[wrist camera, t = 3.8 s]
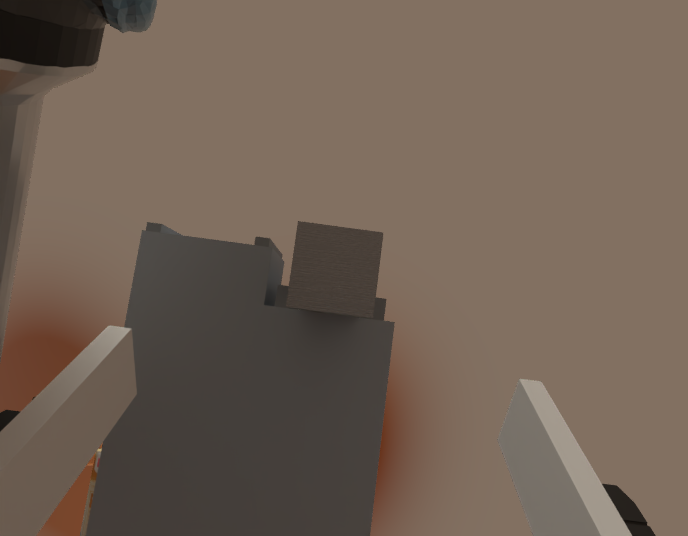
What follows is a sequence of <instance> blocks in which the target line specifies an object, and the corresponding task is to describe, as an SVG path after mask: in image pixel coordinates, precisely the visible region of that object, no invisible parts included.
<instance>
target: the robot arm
mask: <svg viewBox="0 0 688 536" xmlns="http://www.w3.org/2000/svg"><path fill="white" fill-rule="evenodd" d="M156 5H157V0H0V360H1V354H2V348H3V342H4V335H5V330H6V324H7V318H8V312H9V306H10V299H11V293H12V287H13V281H14V275H15V268H16V263H17V257H18V251H19V245H20V238H21V232H22V226H23V220H24V214H25V208H26V202H27V196H28V190H29V184H30V178H31V172H32V165H33V159H34V153H35V147H36V140H37V135H38V129H39V123H40V117H41V110H42V104H43V98H44V96H45V95H46V94H47V93H48V92H49V91H50V90H52V89H53V88H56V87H58V86H60V85H63V84H65V83H67V82H70V81H72V80H74V79H76V78H79V77H81V76H84V75H86V74H88V73H91V72H93V71H94V69H95V68H96V66H97V62H98V57H99V52H100V47H101V42H102V37H103V32H104V28H105V25H106V23H107V24H110V26H112V27H114V28H116V29H118V30H119V31H120V32H122V33H124V32H127V31H133V32H142V31H146V30H147V29H148V28H149V26H150V25H151V23H152V20H153V17H154V13H155V9H156ZM136 395H137V388H136V376H135V363H134V351H133V338H132V328H124V327H116V326H108V327H107V328H106V329H105V330H104V331H103V332H102V333H101V334H100V335H99V336H98V337H97V338H96V339H95V340H94V341H92V342H91V344H89V345H88V346H87V348H85V349H84V350H83V351H82V352H81V353H80V354H79V355H78V356H77V357H76V358H75V359H74V360H73V361H72V362H71V363H70V364H69V365H68V366H67V367H66V368H65V369H64V370H63V371H62V372H61V373H60V374H59V375H58V376H57V377H56V378H55V379H54V380H53V381H52V382H51V383H50V384H49V385H48V386H47V387H46V388H45V389H43V390H42V391H41V392H40V393H39V394H38V395H37V396H36V397H35V398H34V399H33V400H32V401H31V402H30V403H29V404H28V405H27V406H26V407H25V408H24V409H23V410H22V411H21V412H19V411H11V410H5V411H3V412H1V413H0V536H36V535H37V533H38V532H39V531H40V529H41V528H42V527H43V525H44V524H45V522H46V521H47V520H48V518H49V517H50V515H51V514H52V513H53V511H54V510H55V508H56V507H57V506H58V504H59V503H60V501H61V500H62V499H63V497H64V495H65V494H66V493H67V492H68V490H69V489H70V487H71V486H72V484H73V483H74V482H75V480H76V479H77V477H78V476H79V474H80V473H81V472H82V470H83V469H84V468H85V466H86V465H87V463H88V462H89V461H90V459H91V458H92V456H93V455H94V454H95V452H96V451H97V449H98V448H99V447H100V445H101V444H102V442H103V441H104V440H105V438H106V437H107V435H108V434H109V432H110V431H111V430H112V428H113V427H114V425H115V424H116V423H117V421H118V420H119V418H120V417H121V416H122V414H123V413H124V411H125V410H126V409H127V407H128V406H129V404H130V403H131V402H132V400H133V399H134V397H135V396H136ZM497 440H498V443H499V446H500V448H501V451H502V454H503V456H504V459H505V462H506V464H507V467H508V470H509V472H510V475H511V478H512V481H513V483H514V486H515V488H516V491H517V494H518V497H519V499H520V502H521V505H522V507H523V510H524V512H525V515H526V518H527V521H528V523H529V526H530V529H531V531H532V534H533V536H655V534H654V532H653V531H652V529H651V528H650V527H649V526H647V522H646V520H645V518H644V517H643V515H642V514H641V512H640V511H639V509H638V508H637V506H636V504H635V503H634V502H633V501H632V500H631V499H630V498H629V497H628V496H627V495H626V494H625V493H624V492H623V491H622V490H621V489H620V488H619V487H618V486H615V485H607V484H601V482H600V480H599V479H598V477H597V475H596V473H595V472H594V470H593V469H592V467H591V465H590V463H589V462H588V460H587V458H586V456H585V455H584V453H583V451H582V450H581V448H580V446H579V445H578V443H577V441H576V440H575V438H574V436H573V435H572V433H571V431H570V429H569V428H568V426H567V424H566V423H565V421H564V419H563V417H562V416H561V414H560V413H559V411H558V409H557V407H556V406H555V404H554V402H553V401H552V399H551V397H550V396H549V394H548V392H547V390H546V389H545V387H544V385H543V384H542V382H540V381H532V380H525V379H519V381H518V383H517V386H516V389H515V392H514V395H513V398H512V400H511V403H510V406H509V408H508V411H507V415H506V417H505V420H504V423H503V425H502V428H501V431H500V434H499V437H498V439H497Z"/></svg>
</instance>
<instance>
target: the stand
mask: <svg viewBox="0 0 688 536" xmlns="http://www.w3.org/2000/svg"><path fill="white" fill-rule="evenodd" d="M283 266H284V261H283V260H282V254H281V252H280V251H279V250H278V248H277V247H276V246H275V245H274V243H273V242H272V240H271V239H269V238H262V237H256V238H255V245H249V244H242V243H234V242H227V241H219V240H212V239H204V238H196V237H189V236H183V235H181V234H179V233H177V232H175V231H173V230H172V229H170V228H168V227H166V226H164V225H162V224H157V223H149V222H147V227H146V231H144V230H142V234H141V239H140V245H139V250H138V256H137V261H136V267H135V272H134V277H133V283H132V288H131V294H130V299H129V304H128V310H127V315H126V321H125V327H124V328H132V338H133V351H134V363H135V376H136V388H137V395H136V396H135V397H134V399H133V400H132V402H131V403H130V404H129V406H128V407H127V409H126V410H125V411H124V413H123V414H122V416H121V417H120V418H119V420H118V421H117V423H116V424H115V425H114V427H113V428H112V430H111V431H110V432H109V434H108V435H107V437H106V438H105V440H104V441H103V445H102V450H101V456H100V461H99V467H98V472H97V477H96V483H95V488H94V494H93V499H92V504H91V510H90V515H89V521H88V526H87V532H86V536H370V530H371V522H372V513H373V504H374V495H375V487H376V478H377V469H378V461H379V452H380V444H381V435H382V426H383V417H384V409H385V401H386V392H387V383H388V375H389V366H390V357H391V348H392V339H393V331H394V322H389V321H384V314H385V306H386V299H382V298H375V306H374V314H373V318H358V317H351V316H343V315H335V314H328V313H320V312H312V311H305V310H298V309H293V308H289V307H286V302H287V295H288V288H289V286H283V285H281V281H282V274H283Z"/></svg>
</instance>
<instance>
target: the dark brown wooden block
mask: <svg viewBox="0 0 688 536" xmlns="http://www.w3.org/2000/svg"><path fill="white" fill-rule="evenodd" d="M382 240H383V233H382V232H375V231H367V230H360V229H352V228H344V227H337V226H330V225H322V224H314V223H307V222H299V221H298V226H297V233H296V240H295V247H294V254H293V261H292V268H291V275H290V282H289V288H288V295H287V302H286V307H289V308H293V309H298V310H305V311H312V312H320V313H328V314H335V315H343V316H351V317H358V318H373V314H374V306H375V297H376V289H377V281H378V273H379V264H380V256H381V248H382Z"/></svg>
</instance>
